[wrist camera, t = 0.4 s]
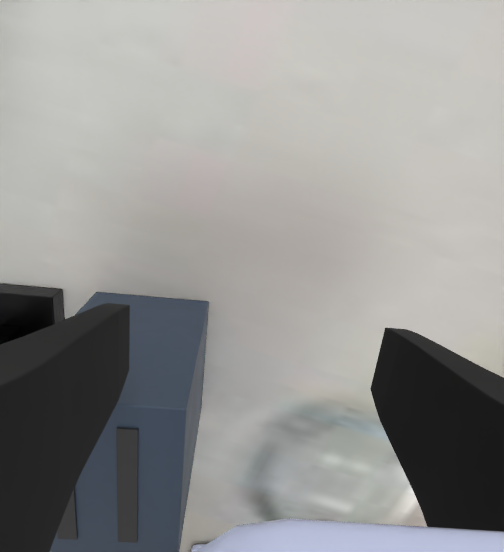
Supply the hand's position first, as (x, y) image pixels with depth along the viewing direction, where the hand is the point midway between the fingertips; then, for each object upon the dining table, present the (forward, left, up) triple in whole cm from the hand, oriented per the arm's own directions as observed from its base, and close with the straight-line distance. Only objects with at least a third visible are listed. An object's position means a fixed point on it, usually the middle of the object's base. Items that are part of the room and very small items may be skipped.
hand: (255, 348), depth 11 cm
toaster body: (-6, +5, -10) cm, 13 cm away
